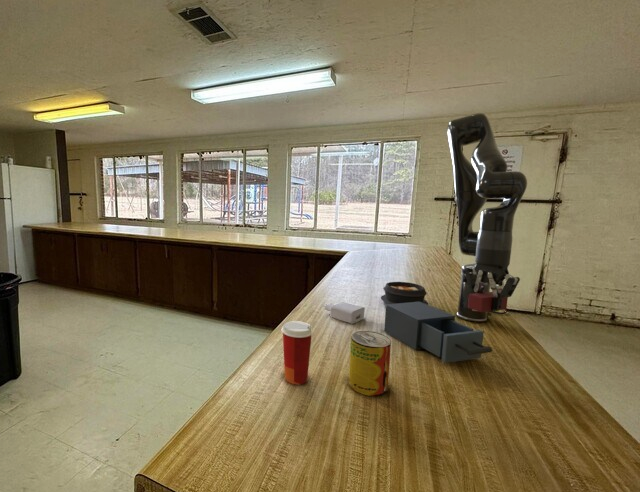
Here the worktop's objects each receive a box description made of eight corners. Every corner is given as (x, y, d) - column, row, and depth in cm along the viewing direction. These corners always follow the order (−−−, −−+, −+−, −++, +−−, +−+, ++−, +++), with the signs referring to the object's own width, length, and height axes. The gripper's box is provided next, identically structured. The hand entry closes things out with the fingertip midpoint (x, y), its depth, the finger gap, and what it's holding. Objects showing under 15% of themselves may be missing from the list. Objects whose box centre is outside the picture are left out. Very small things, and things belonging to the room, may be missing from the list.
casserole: (424, 317, 123) (426, 296, 122) (373, 308, 134) (375, 288, 132) (431, 301, 143) (432, 282, 142) (386, 294, 154) (388, 277, 153)
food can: (369, 400, 72) (372, 350, 70) (340, 380, 80) (342, 335, 78) (396, 389, 76) (399, 342, 74) (366, 371, 84) (369, 328, 82)
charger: (330, 308, 133) (364, 318, 122) (317, 313, 127) (351, 324, 116) (331, 297, 133) (364, 306, 121) (317, 302, 127) (351, 312, 115)
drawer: (498, 366, 85) (501, 338, 84) (460, 372, 82) (463, 343, 81) (441, 337, 103) (443, 314, 102) (408, 342, 100) (410, 318, 99)
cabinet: (452, 345, 100) (455, 315, 98) (415, 350, 96) (418, 319, 95) (417, 327, 114) (419, 301, 112) (384, 331, 110) (385, 304, 109)
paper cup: (313, 373, 83) (314, 322, 81) (309, 389, 76) (310, 334, 74) (284, 368, 86) (284, 318, 84) (277, 383, 79) (277, 329, 77)
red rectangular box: (492, 305, 92) (493, 291, 91) (506, 309, 88) (508, 295, 87) (467, 307, 89) (468, 293, 89) (481, 312, 86) (482, 297, 85)
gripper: (533, 250, 80) (524, 315, 83) (479, 243, 94) (473, 299, 96) (510, 251, 79) (502, 318, 81) (459, 243, 92) (453, 301, 95)
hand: (486, 307), depth 89 cm, fingers closed on red rectangular box, 4 cm apart
